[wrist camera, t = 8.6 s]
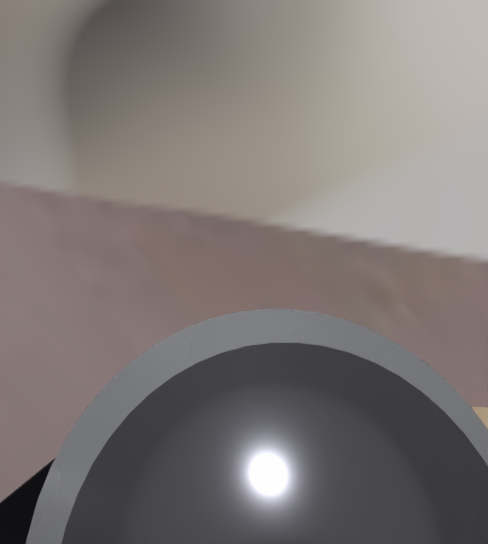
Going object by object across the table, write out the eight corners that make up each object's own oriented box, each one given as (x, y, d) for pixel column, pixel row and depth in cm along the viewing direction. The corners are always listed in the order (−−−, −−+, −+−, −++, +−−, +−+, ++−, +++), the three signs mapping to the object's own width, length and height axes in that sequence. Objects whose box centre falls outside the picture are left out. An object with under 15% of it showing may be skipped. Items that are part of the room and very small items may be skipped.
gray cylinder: (364, 530, 13) (775, 762, 3) (213, 623, 12) (102, 1382, 2) (284, 378, 15) (383, 211, 5) (146, 450, 14) (-91, 429, 4)
